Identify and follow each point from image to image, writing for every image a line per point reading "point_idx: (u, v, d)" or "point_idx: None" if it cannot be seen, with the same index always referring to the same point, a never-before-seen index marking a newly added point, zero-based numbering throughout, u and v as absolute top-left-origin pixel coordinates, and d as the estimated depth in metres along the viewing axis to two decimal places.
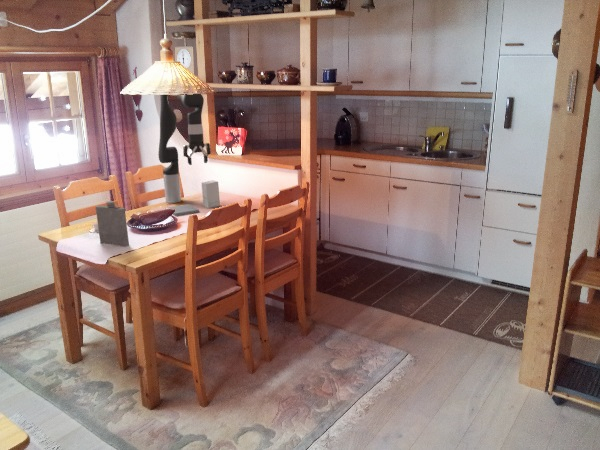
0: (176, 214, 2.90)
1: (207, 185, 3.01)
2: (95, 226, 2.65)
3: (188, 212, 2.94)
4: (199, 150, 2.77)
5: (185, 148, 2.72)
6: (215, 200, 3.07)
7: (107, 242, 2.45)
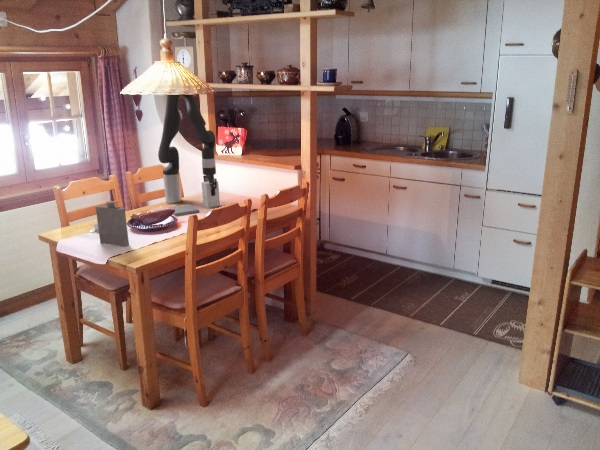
0: (176, 214, 2.90)
1: (207, 185, 3.01)
2: (95, 226, 2.65)
3: (188, 212, 2.94)
4: None
5: (216, 181, 3.00)
6: (215, 200, 3.07)
7: (107, 242, 2.45)
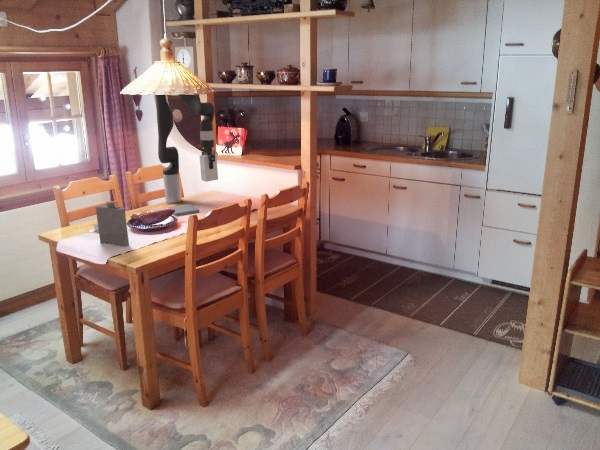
0: (176, 214, 2.90)
1: (205, 158, 2.97)
2: (95, 226, 2.65)
3: (188, 212, 2.94)
4: None
5: (214, 154, 2.96)
6: (213, 174, 3.03)
7: (107, 242, 2.45)
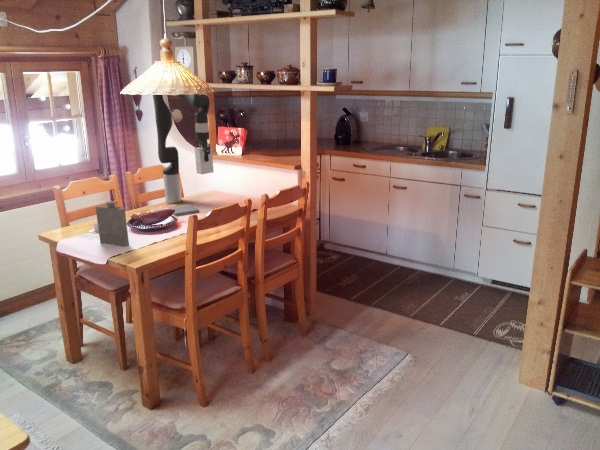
0: (176, 214, 2.90)
1: (200, 150, 2.95)
2: (95, 226, 2.65)
3: (188, 212, 2.94)
4: None
5: (209, 146, 2.94)
6: (208, 166, 3.00)
7: (107, 242, 2.45)
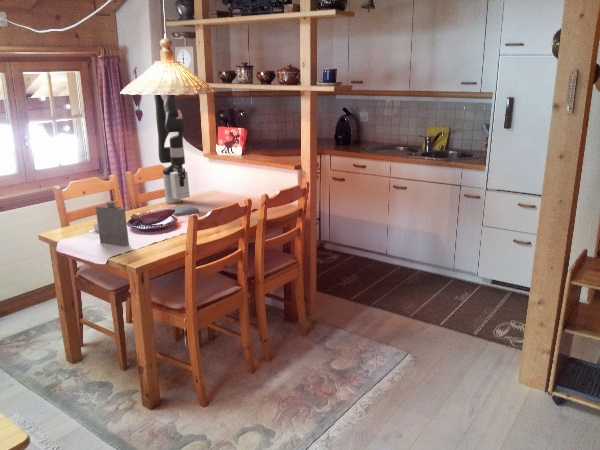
0: (176, 214, 2.90)
1: (175, 175, 2.90)
2: (95, 226, 2.65)
3: (188, 212, 2.94)
4: None
5: (184, 171, 2.89)
6: (184, 191, 2.96)
7: (107, 242, 2.45)
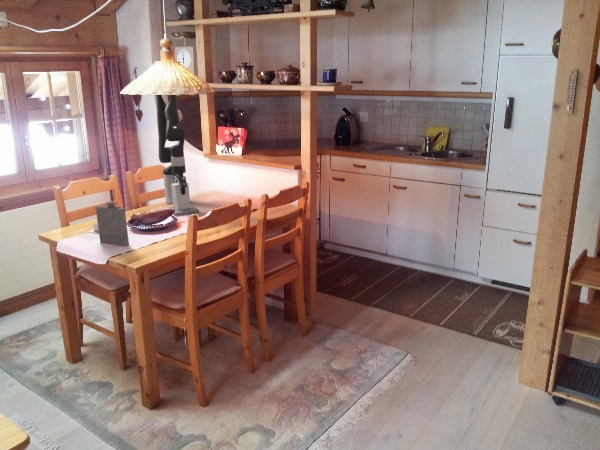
0: (176, 214, 2.90)
1: (176, 187, 2.92)
2: (95, 226, 2.65)
3: (188, 212, 2.94)
4: None
5: (185, 179, 2.90)
6: (185, 202, 2.97)
7: (107, 242, 2.45)
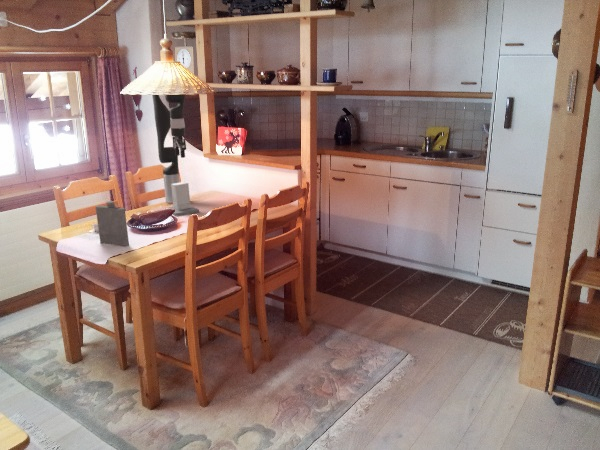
0: (176, 214, 2.90)
1: (176, 187, 2.92)
2: (95, 227, 2.64)
3: (188, 212, 2.94)
4: None
5: None
6: (185, 202, 2.97)
7: (107, 242, 2.45)
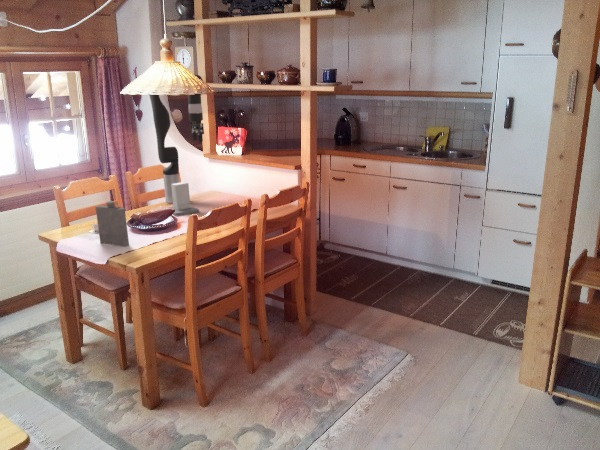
0: (176, 214, 2.90)
1: (176, 187, 2.92)
2: (95, 227, 2.64)
3: (188, 212, 2.94)
4: None
5: None
6: (185, 202, 2.97)
7: (107, 242, 2.45)
